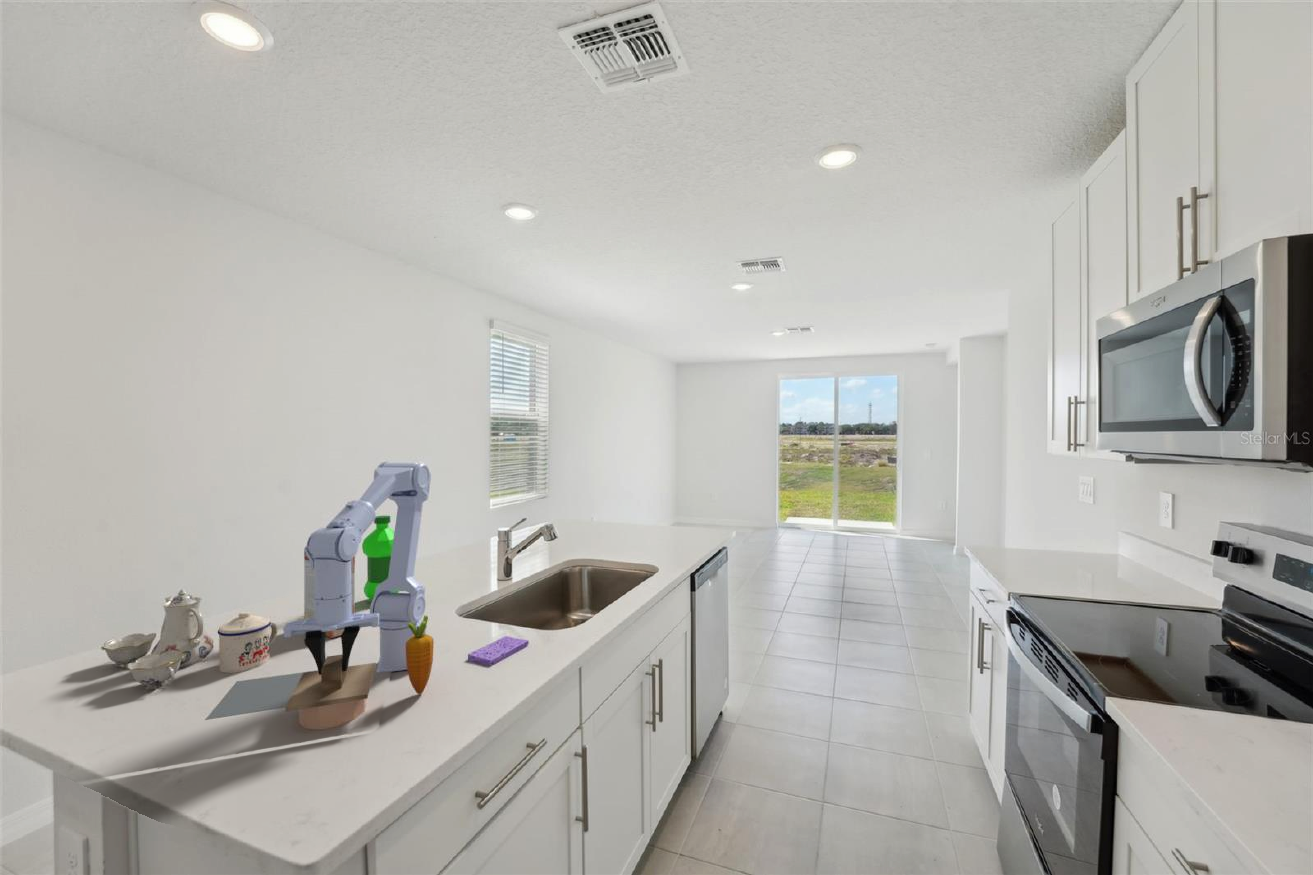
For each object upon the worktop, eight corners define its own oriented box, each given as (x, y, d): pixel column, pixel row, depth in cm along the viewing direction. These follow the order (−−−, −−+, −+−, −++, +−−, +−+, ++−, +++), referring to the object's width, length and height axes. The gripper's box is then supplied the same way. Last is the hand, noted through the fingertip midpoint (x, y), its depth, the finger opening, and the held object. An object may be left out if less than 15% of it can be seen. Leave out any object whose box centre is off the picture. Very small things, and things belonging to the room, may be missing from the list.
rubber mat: (323, 671, 113) (323, 669, 113) (305, 706, 99) (305, 703, 99) (236, 683, 108) (236, 681, 108) (205, 722, 94) (205, 719, 94)
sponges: (467, 662, 120) (467, 653, 120) (506, 642, 131) (506, 634, 131) (491, 668, 116) (491, 660, 116) (529, 647, 128) (529, 639, 128)
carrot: (406, 703, 101) (406, 624, 100) (405, 691, 105) (404, 615, 105) (434, 697, 103) (434, 619, 103) (432, 686, 107) (432, 611, 107)
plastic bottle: (409, 597, 163) (409, 515, 162) (378, 608, 153) (378, 520, 152) (386, 593, 167) (385, 513, 166) (355, 603, 157) (354, 518, 157)
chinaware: (87, 676, 114) (75, 601, 113) (184, 640, 129) (174, 574, 127) (147, 708, 102) (134, 624, 100) (246, 665, 116) (236, 591, 114)
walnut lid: (375, 666, 104) (375, 642, 104) (367, 698, 93) (366, 671, 93) (303, 676, 100) (303, 651, 100) (285, 711, 89) (284, 683, 88)
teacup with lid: (241, 677, 111) (241, 621, 110) (206, 673, 113) (206, 617, 112) (292, 653, 122) (292, 602, 122) (260, 649, 124) (259, 599, 124)
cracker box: (356, 631, 135) (356, 549, 135) (331, 639, 130) (331, 554, 130) (328, 620, 143) (327, 542, 143) (303, 627, 138) (302, 546, 137)
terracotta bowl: (369, 697, 103) (368, 674, 103) (361, 724, 93) (361, 699, 93) (308, 707, 99) (307, 683, 99) (293, 736, 90) (293, 710, 90)
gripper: (278, 606, 89) (278, 687, 90) (375, 597, 95) (376, 673, 95) (289, 594, 96) (290, 669, 96) (380, 586, 101) (380, 657, 101)
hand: (333, 670), depth 96 cm, fingers closed on walnut lid, 3 cm apart
